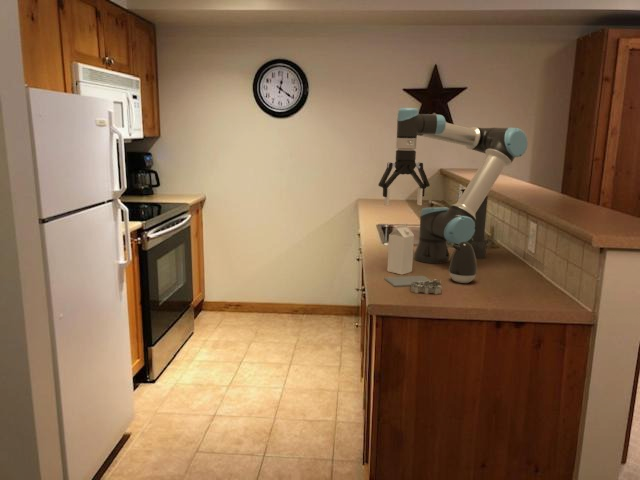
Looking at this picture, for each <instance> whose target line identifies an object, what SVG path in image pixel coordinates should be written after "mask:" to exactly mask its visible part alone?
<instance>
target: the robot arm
mask: <svg viewBox="0 0 640 480" xmlns="http://www.w3.org/2000/svg"><path fill="white" fill-rule="evenodd" d="M397 111H398V112H397V119H396V121H397V122H396V143H395V144H396V145H395V146H396V147H395V148H396V151H395V162H389V161H388V162H387V165H386V169H385V170H384V172H383V175H382V176H381V178H380V180H379V182H378V187H379V188H380V187H381V188H382V197H384V206H386V207H389V206H390V192H391V191H390V189H391V188H389V187H390V186H391V185H392V184H393V182H394V181H395V180H396V178H397V177H398V176H399V175H410V176H412V178H413V179H414V181H415V182H416V184H417V185H418V186H419V187H417V197H416V198H417V200H416V205H418V206H422V205H423V197H425V191H426V189H427V188H428V187H429V188H430V182H429V180H428V177H427V175H426V171H425V170H424V163H423V162H417V163H416V158H417V155H416V153H417V152H416V149H417V137H418V136H419V137H424V138H427V139H428V138H429V139H433V140H438V141H442V142H447V143H453V144H455V145H461V146H465V147H466V149H469V150H472V151H475V152H478V153H482V154H485V158H484V159H483V161H482V163H481V164H480V166H479V167H478V169H477V171H475V174H474V175H473V177H472V178H471V180H470V181H469V182H468V185H467V186H466V188H465V189H464V191H463V192H462V194H461V196H460V197H459V198H458V200H457V202H456V203H454V204H451V205H450V206H449V208H448V207H445V206H443V207H441V206H439V207H438V206H437V207H436V206H435V207H423V208H422V209H421V210H420V216H419V235H418V237H419V238H418V239H419V240H418V243H417V246H416V249H415V251H414V252H413V259H414V260H415V261H418V262H421V263H428V264H446V263H448V262H450V253H449V249H448V244H447V242H448V243H450V244H455V245H458V244H459V243H461V242H469V241H470V240H471V239H472V238H473V237H474V232H475V220H476V217H475V216H476V212H477V210H478V208H479V207H480V205H481V204H482V202H483V201H484V199H485V197H486V196H488V194H489V192H490V191H491V189H492V188H493V186H494V185H495V183H496V181H497V180H498V178H499V176H500V175H501V174H502V172H503V171H504V169H505V167H507V166H510V165H512V163H513V162H514V159H515V158H519V157H523V155H525V153H526V151H527V149H528V144H529V143H528V136H527V135H526V133H525V132H524V130H523V129H520V128H519V127H512V126H511V127H477V126H471V127H467V126H461V125H457V124H454V123H449V122H447V121H446V118H445V116H444V115H442V114H436V113H433V114H431V113H419V110H418V108H415V107H401V108H399V109H398V110H397ZM394 168H395V170H394V171H393V172H392V169H394ZM415 169H417V171H418V173H419V176H420V177H419V176H418V174H417V172H416V171H415ZM391 172H392V174H391ZM390 174H391V175H390Z"/></svg>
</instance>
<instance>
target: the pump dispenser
mask: <svg viewBox="0 0 640 480" xmlns="http://www.w3.org/2000/svg"><path fill="white" fill-rule="evenodd" d="M452 248H453V249H454V251H453V252H452V256H451V258H450V260H449V266H448V272H449V275H450V278H451V280H452V281H454V282H456V283H460V284H469V283H470V282H472V281H474V279H475V278H476V275H477V273H478V266H477V259H476V257H475V253H474V250H473V248H472V246H471V243H470V242H469V241H467V242H461V243H459V244H453V245H452Z"/></svg>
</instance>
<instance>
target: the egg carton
mask: <svg viewBox="0 0 640 480" xmlns="http://www.w3.org/2000/svg"><path fill="white" fill-rule="evenodd" d="M430 280H431V281H428V280H427V281H418V282H414V281H411V286H410V291H411V292H412V293H414V294H418V293H423V294H427V295H428V294H434V295H439V294H441V293H442V289H443V288H442V283H441V279H440V278H433V279H430Z"/></svg>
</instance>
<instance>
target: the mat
mask: <svg viewBox="0 0 640 480" xmlns="http://www.w3.org/2000/svg"><path fill="white" fill-rule="evenodd" d="M383 279H384V280H385V281H386V282H387V283H389V284H390V285H391V286H393V287H394V288H402V287H411V281H414V282H418V281H427V280H428V281H431V280H432V279H430V278H428V277H426V276H425V275H411V276H408V275H407V276H391V277H389V276H387V277H384V278H383Z"/></svg>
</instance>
